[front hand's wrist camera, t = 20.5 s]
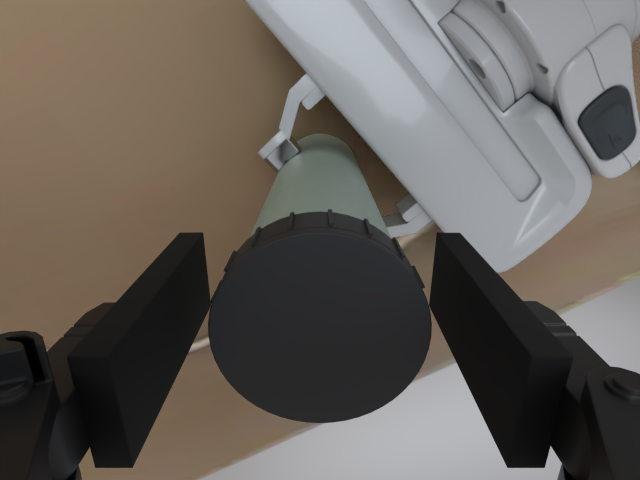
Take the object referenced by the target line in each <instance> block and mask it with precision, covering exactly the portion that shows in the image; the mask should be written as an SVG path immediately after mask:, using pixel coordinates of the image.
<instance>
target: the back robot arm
mask: <svg viewBox="0 0 640 480" xmlns="http://www.w3.org/2000/svg"><path fill="white" fill-rule="evenodd" d="M245 2H246V3H247V4H248V6H249V7H250V8H251V9H252V10H253V11H254V13H255V14H256V15H257V16H258V17H259V18H260V20H261V21H262V22H263V23H264V24H265V25H266V27H267V28H268V29H269V30H270V31H271V32H272V34H273V35H274V36H275V37H276V38H277V39H278V41H279V42H280V43H281V44H282V45H283V46H284V48H285V49H286V50H287V51H288V52H289V53H290V54H291V56H292V57H293V58H294V59H295V60H296V61H297V63H298V64H299V65H300V66H301V67H302V68H303V70H304V71H305V72H306V74H305V75H304V76H303V77H302V78H301V79H300V80H299V81H298V82H297V83H296V84H295V85H294V86H293V87H292V88H291V89H290V90H289V93H288V96H287V100H286V104H285V107H284V111H283V114H282V118H281V122H280V125H279V129H280V130H279V131H278V132H277V133H276V134H275V135H274V136H273V137H272V138H271V139H270V140H269V141H268V142H267V143H266V144H265V145H264V146H263V147H262V148H261V149H260V150H259V151H258V152H257V153H258V154H259V156H260V157H261V158H262V159H263V160H264V161H265V162H266V163H267V164H268V165H269V166H270V167H271V168H272V169H273V170H274V171H275V172H278V171H279V170H280V169H281V168H282V167H283V166H284V165H285V162H286V160H290V159H291V158H293V157H294V156H295V155H296V154H297V153H298V152H299V151H300V147H301V146H300V145H299V144H298V143H297V142H296V141H295V140H294V138H293V137H292V136H291V135H292V131H293V128H294V125H295V121H296V118H297V114H298V111H299V108H300V104H301V101H302V105H303V106H304V107H305V108H306V109H307V110H310V109H311V108H312V107H313V106H314V105H315V104H317V103H318V102H319V101H320V100H321V99H322V98H323V97H324V96H325V95H326V96H327V97H328V99H329V100H330V101H331V102H332V103H333V104H334V106H335V107H336V108H337V109H338V110H339V111H340V113H341V114H342V115H343V116H344V117H345V118H346V120H347V121H348V122H349V123H350V124H351V125H352V127H353V128H354V129H355V130H356V131H357V132H358V134H359V135H360V136H361V137H362V138H363V139H364V140H365V142H366V143H367V144H368V145H369V146H370V147H371V149H372V150H373V151H374V152H375V153H376V154H377V156H378V157H379V158H380V159H381V160H382V161H383V163H384V164H385V165H386V166H387V167H388V168H389V170H390V171H391V172H392V173H393V174H394V175H395V177H396V178H397V179H398V180H399V181H400V182H401V184H402V185H403V186H404V187H405V188H406V189H407V191H408V192H409V193H408V194H407V195H406V196H405V197H404V198H403V199H401V200H400V201H399V202H398V203H397V204H396V208H397V209H398V211H399V213H397V214H392V215H388V216H384V217H382V219H383V221H384V223H385V226H386V228H387V230H388V232H389V234H390V237H391V238H393V237H398V236H404V235H410V234H415V233H417V232H418V231H420V230H421V229H422V228H423V227H425V226H426V225H427V224H428V223H430V222H431V221H432V220H433V221H434V222H435V223H436V224H437V225H438V227H439V228H440V229H441V230H442V231H443V232H444V233H461V234H462V235H463V236H464V238H465V239H466V240H467V241H468V242H469V243H470V244H471V245H472V246H473V247H474V248H475V250H476V251H477V252H478V253H479V254H480V255H481V256H482V257H483V258H484V259H485V260H486V262H487V263H488V264H489V265H490V266H491V267H492V268H493V269H494V270H495V271H496V272H497V273H501V272H504V271H507V270H508V269H510V268H512V267H513V266H515V265H516V264H518V263H519V262H521V261H522V260H524V259H525V258H526V257H528V256H529V255H530V254H532V253H533V252H534V251H536V250H537V249H538V248H539V247H541V246H542V245H543V244H544V243H546V242H547V241H548V240H549V239H551V238H552V237H553V236H554V235H555V234H557V233H558V232H559V231H560V230H561V229H562V228H563V227H565V226H566V225H567V224H568V223H569V222H570V221H571V220H572V219H573V218H574V217H575V216H576V215H577V214H578V213H579V212H580V211H581V209H582V208H583V207H584V205H585V204H586V202H587V200H588V198H589V196H590V193H591V190H592V176H591V175H594V176H599V177H603V178H609V179H610V178H615V177H618V176H620V175H622V174H623V173H625V172H626V171H628V170H629V169H630V168H632V167H633V166H634V165H635V164H637V162H638V161H639V160H640V121H639V115H638V109H637V103H636V96H635V88H634V79H633V66H632V44H631V43H632V42H634V41H635V40H636V39H637V38H638V37H639V36H640V0H245Z"/></svg>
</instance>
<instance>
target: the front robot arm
mask: <svg viewBox="0 0 640 480" xmlns="http://www.w3.org/2000/svg"><path fill="white" fill-rule="evenodd" d="M210 306H211V303H210V293H209V284H208V275H207V265H206V256H205V247H204V237H203V233H179V234H178V235H177V236H176V238H175V239H174V240H173V241H172V242H171V243H170V244H169V245H168V246H167V247H166V248H165V250H164V251H163V252H162V253H161V254H160V255H159V256H158V257H157V258H156V259H155V260H154V262H153V263H152V264H151V265H150V266H149V267H148V268H147V269H146V270H145V271H144V272H143V274H142V275H141V276H140V277H139V278H138V279H137V280H136V281H135V282H134V283H133V285H132V286H131V287H130V288H129V289H128V290H127V291H126V292H125V293H124V294H123V295H122V297H121V298H120V299H119V300H118V301H117V302H116V303H103V304H101V305H99V306H97V307H96V308H94V309H92V310H90V311H88V312H87V313H85V314H84V315H83V316H82V317H81V318H80V319H79V320H78V321H77V322H76V323H75V324H74V327H71V328H70V329H69V330H68V331H67V332H66V333H65V334H64V337H61V338H60V339H59V340H58V341H57V342H56V343H55V344H54V345H53V346H52V347H51V348H50V349H49V350H48V351H46V348H45V344H44V341H43V337H42V336H41V335H39V334H38V333H36V332H30V331H16V332H8V333H4V334H0V480H82V478H81V472H80V469H79V463H80V462H81V460H82V458H83V457H84V455H85V454H86V452H87V450H88V449H89V447H90V449H91V453H92V457H93V460H94V464H95V468H133V465H134V463H135V461H136V459H137V457H138V455H139V453H140V451H141V449H142V447H143V445H144V443H145V441H146V439H147V437H148V434H149V432H150V430H151V428H152V426H153V424H154V422H155V420H156V418H157V416H158V414H159V412H160V410H161V408H162V405H163V403H164V401H165V399H166V397H167V395H168V393H169V391H170V389H171V387H172V385H173V383H174V381H175V379H176V377H177V374H178V372H179V370H180V368H181V366H182V364H183V362H184V360H185V358H186V356H187V354H188V352H189V350H190V348H191V346H192V343H193V341H194V339H195V337H196V335H197V333H198V331H199V329H200V327H201V325H202V323H203V321H204V319H205V317H206V314H207V312H208V310H209V308H210ZM429 306H430V308H431V310H432V312H433V314H434V317H435V319H436V321H437V323H438V325H439V327H440V329H441V331H442V333H443V335H444V337H445V339H446V341H447V343H448V346H449V348H450V350H451V352H452V354H453V356H454V358H455V360H456V362H457V364H458V366H459V368H460V370H461V372H462V374H463V377H464V379H465V381H466V383H467V385H468V387H469V389H470V391H471V393H472V395H473V397H474V399H475V401H476V403H477V405H478V408H479V410H480V412H481V414H482V416H483V418H484V420H485V422H486V424H487V426H488V428H489V430H490V432H491V434H492V436H493V439H494V441H495V443H496V445H497V447H498V449H499V451H500V453H501V455H502V457H503V459H504V461H505V463H506V465H507V467H508V468H544V467H545V464H546V460H547V457H548V453H549V449H550V445H551V447H552V448H553V450H554V451H555V453H556V455H557V456H558V458H559V459H560V461H561V462H562V465H561V469H560V472H559V476H558V479H557V480H640V374H638V373H636V372H633V371H629V370H626V369H623V368H618V367H610V366H609V365H608V364H607V363H606V362H605V361H604V360H603V359H602V358H601V357H600V356H599V355H598V354H597V353H596V352H595V351H594V350H593V349H592V348H591V347H590V346H589V345H588V344H587V343H586V342H585V341H584V340H583V339H582V338H581V337H580V336H577V335H576V332H575V331H574V330H573V329H572V328H570V327H569V326H567V325H566V323H565V322H564V321H563V320H562V319H561V318H560V317H559V316H558V315H557V314H556V313H555V312H554V311H553V310H551V309H549V308H547V307H545V306H544V305H542V304H540V303H538V302H537V301H522V300H521V299H520V298H519V297H518V295H517V294H516V293H515V292H514V291H513V290H512V289H511V288H510V287H509V286H508V285H507V283H506V282H505V281H504V280H503V279H502V278H501V277H500V276H499V275H498V274H497V272H496V271H495V270H494V269H493V268H492V267H491V266H490V265H489V264H488V263H487V262H486V260H485V259H484V258H483V257H482V256H481V255H480V254H479V253H478V252H477V251H476V250H475V248H474V247H473V246H472V245H471V244H470V243H469V242H468V241H467V240H466V239H465V238H464V236H463V235H462V234H461V233H437V237H436V247H435V256H434V265H433V275H432V284H431V293H430V303H429Z"/></svg>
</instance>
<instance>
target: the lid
mask: <svg viewBox="0 0 640 480" xmlns="http://www.w3.org/2000/svg"><path fill="white" fill-rule="evenodd" d="M224 271H225V272H226V273H225V275H224V277H223V279H222V280H221V281H220V283H219V285H218V287H217V289H216V291H215V293H214V295H213V297H212V299H211V304H212V305H211V308H210V313H209V321H208V331H209V340H210V346H211V350H212V353H213V356H214V359H215V361H216V363H217V365H218V367H219V369H220V371H221V372H222V374H223V375H224V377H225V378H226V380H227V381H228V382H229V383H230V384H231V385H232V387H233V388H234V389H235V390H236V391H237V392H238V393H240V394H241V395H242V396H243V397H244V398H245V399H247V400H248V401H250V402H251V403H253V404H254V405H256V406H257V407H259V408H261V409H263V410H265V411H267V412H269V413H272V414H274V415H277V416H280V417H283V418H287V419H291V420H295V421H301V422H311V423H330V422H338V421H345V420H349V419H353V418H357V417H360V416H363V415H365V414H368V413H371V412H373V411H375V410H377V409H379V408H381V407H383V406H384V405H386V404H387V403H389V402H390V401H392V400H393V399H394V398H396V397H397V396H398V395H399V394H400V393H402V392H403V391H404V390H405V389H406V388H407V386H408V385H409V384H410V383H411V382H412V381H413V379H414V378H415V376H416V375H417V374H418V372H419V370H420V369H421V367H422V365H423V363H424V361H425V358H426V355H427V352H428V349H429V345H430V340H431V326H432V323H431V314H430V309H429V305H428V302H427V298H426V296H425V294H424V292H423V290H422V288H425V286H424V284H423V282H422V280H421V278H420V276H419V274H418V272H417V270H416V268H415V266H412V267H411V265H410V263H409V261H408V259H407V258H406V256H405V254H404V253H403V251H402V249H401V247H400V245H399V243H398V241H397V240H396V239H395V238H394V239H393V240H392V239H391V238H390V237H389V236H388V235H386V234H385V233H384V232H383V231H381V230H380V229H378V228H376V227H375V226H373V225H372V224H370V223H369V221H368V219H366V218H364V220H361V219H358V218H355V217H352V216H349V215H345V214H340V213H335V212H332V209H328V212H321V211H320V212H305V213H300V214H294V212H291V213H290V215H289V216H288V217H285V218H281V219H279V220H277V221H275V222H272V223H270V224H268V225H266V226H265V227H263V228H261V227H260V226H259V227H258V228H257V229H256V231H255V234H254V235H252V236H251V237H250V238H249V239H248V240H247V241H246V242H245V243H244V244H243V245H242V246H241V247H240V249H239V250H238V251H237V252H236V251H235V250H234V252H233V253H232V255H231V257H230V259H229V261H228V263H227V265H226V267H225V269H224Z"/></svg>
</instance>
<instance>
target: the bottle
mask: <svg viewBox="0 0 640 480" xmlns="http://www.w3.org/2000/svg"><path fill="white" fill-rule="evenodd" d="M297 143H298V144H299V145H300V146H301V147H300V151H299V152H298V153H297V154H296V155H295V156H294V157H293V158H291V159H290V160H286V162H285V165H284V166H283V167H282V168H281V169H280V170H279V172H278V174H277V176H276V179H275V181H274V183H273V185H272V188H271V190H270V192H269V194H268V196H267V199H266V201H265V203H264V205H263V207H262V210H261V212H260V214H259V216H258V219H257V221H256V223H255V225H254V227H253V230H252V232H251V234H250V236H249V238H250V237H251V236H252V235H254V234H255V231H256V229H257V228H258V227H259V226H260V227H261V228H263V227H265V226H266V225H268V224H270V223H272V222H275V221H277V220H279V219H281V218H285V217H288V216H289V215H290V213H291V212H294V214H300V213H305V212H320V211H321V212H328V209H332V212H335V213H340V214H345V215H349V216H352V217H355V218H358V219H361V220H364V218H366V219H368V221H369V223H370V224H372V225H373V226H375V227H376V228H378V229H380V230H381V231H383V232H384V233H385V234H386V235H388V236H389V237H390V234H389V232H388V230H387V228H386V226H385V223H384V221H383V219H382V217H381V214H380V212H379V210H378V208H377V205H376V203H375V201H374V199H373V197H372V194H371V192H370V190H369V188H368V185H367V183H366V181H365V179H364V177H363V174H362V172H361V170H360V168H359V165H358V163H357V161H356V159H355V156H354V154H353V152H352V151H351V149H350V148H349V147H348V145H347V144H346V143H344V142H343V141H342V140H340V139H339V138H337V137H335V136H332V135H329V134H322V133H318V134H311V135H308V136H305V137H303V138H301V139H300V140H298V141H297ZM390 238H391V237H390Z"/></svg>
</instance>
